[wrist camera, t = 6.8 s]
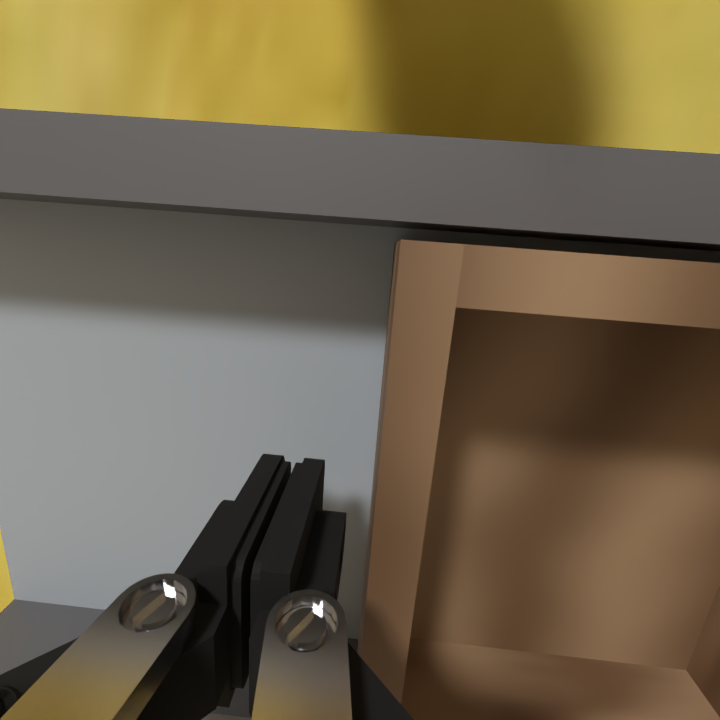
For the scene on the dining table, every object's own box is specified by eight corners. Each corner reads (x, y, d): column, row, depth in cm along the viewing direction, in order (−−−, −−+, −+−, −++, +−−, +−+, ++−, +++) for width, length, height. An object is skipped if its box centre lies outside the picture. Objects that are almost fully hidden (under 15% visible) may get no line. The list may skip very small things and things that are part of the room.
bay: (927, 206, 11) (1341, 176, 6) (720, 688, 16) (863, 878, 11) (-44, 141, 12) (-321, 73, 7) (41, 609, 17) (-93, 750, 12)
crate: (847, 276, 11) (1222, 300, 6) (690, 671, 15) (840, 881, 10) (394, 242, 11) (401, 239, 6) (358, 633, 15) (345, 814, 10)
